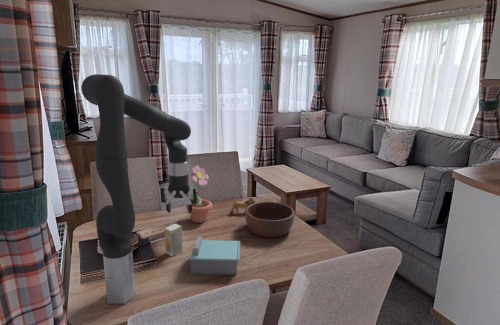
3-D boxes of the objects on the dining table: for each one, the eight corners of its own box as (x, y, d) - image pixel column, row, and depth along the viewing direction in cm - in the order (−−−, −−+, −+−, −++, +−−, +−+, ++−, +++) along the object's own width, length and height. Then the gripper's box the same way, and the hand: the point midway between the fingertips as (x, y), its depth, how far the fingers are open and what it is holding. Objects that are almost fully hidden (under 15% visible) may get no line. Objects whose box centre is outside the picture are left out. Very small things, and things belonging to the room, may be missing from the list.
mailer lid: (239, 264, 131) (239, 252, 130) (190, 263, 131) (190, 251, 130) (240, 246, 145) (240, 234, 144) (196, 245, 145) (195, 233, 144)
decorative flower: (199, 229, 170) (198, 172, 162) (179, 222, 177) (177, 167, 169) (217, 218, 183) (217, 165, 175) (197, 212, 189) (197, 161, 182)
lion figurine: (253, 210, 195) (254, 195, 193) (256, 213, 190) (256, 198, 188) (228, 211, 192) (229, 197, 190) (230, 215, 187) (230, 200, 185)
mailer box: (236, 274, 133) (236, 261, 131) (190, 273, 133) (190, 260, 131) (237, 256, 146) (238, 243, 145) (196, 255, 146) (196, 242, 144)
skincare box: (176, 247, 152) (175, 222, 148) (183, 251, 149) (182, 225, 146) (164, 253, 147) (163, 227, 144) (171, 257, 144) (170, 230, 141)
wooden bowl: (296, 222, 181) (298, 204, 178) (289, 244, 158) (290, 224, 155) (251, 216, 187) (252, 198, 185) (238, 236, 164) (238, 216, 161)
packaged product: (167, 220, 168) (176, 228, 161) (168, 229, 170) (176, 237, 162) (131, 230, 158) (138, 238, 150) (132, 239, 159) (139, 248, 151)
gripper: (157, 175, 125) (159, 215, 130) (195, 175, 126) (196, 216, 130) (162, 169, 133) (163, 208, 137) (198, 170, 133) (199, 209, 137)
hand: (179, 212), depth 133 cm, fingers open, 7 cm apart
